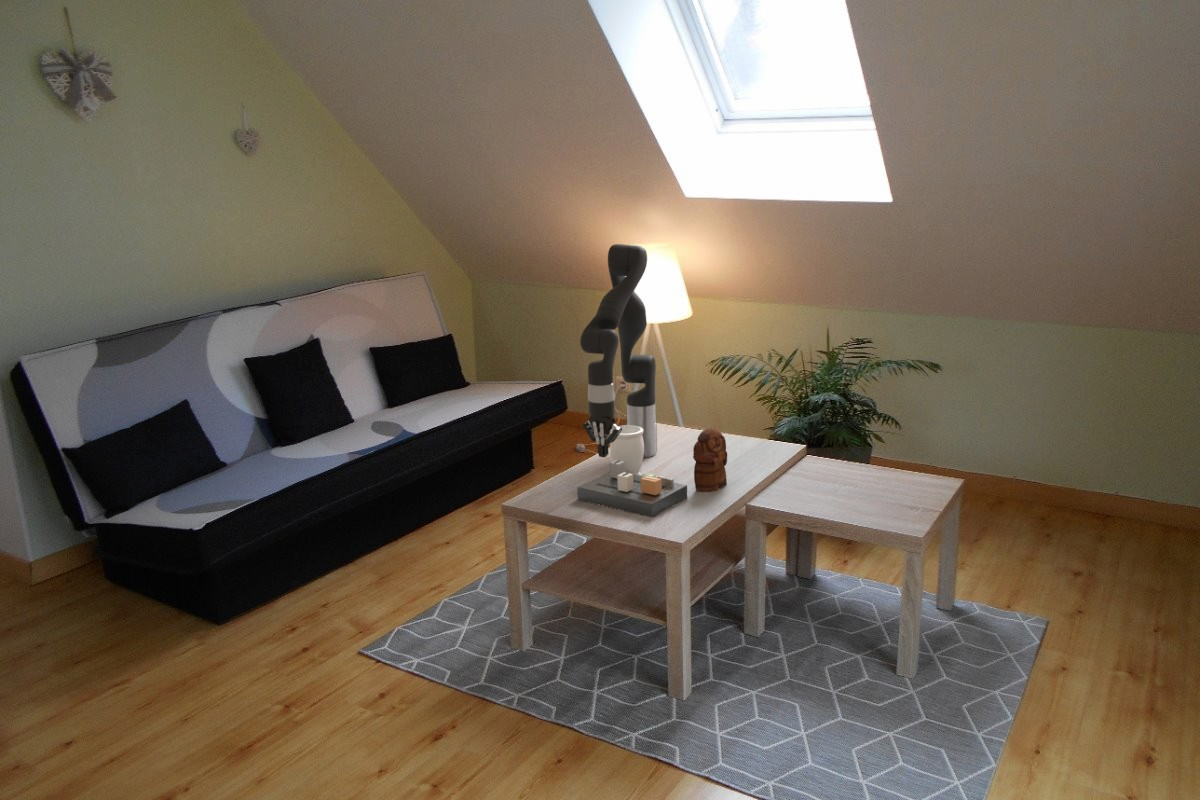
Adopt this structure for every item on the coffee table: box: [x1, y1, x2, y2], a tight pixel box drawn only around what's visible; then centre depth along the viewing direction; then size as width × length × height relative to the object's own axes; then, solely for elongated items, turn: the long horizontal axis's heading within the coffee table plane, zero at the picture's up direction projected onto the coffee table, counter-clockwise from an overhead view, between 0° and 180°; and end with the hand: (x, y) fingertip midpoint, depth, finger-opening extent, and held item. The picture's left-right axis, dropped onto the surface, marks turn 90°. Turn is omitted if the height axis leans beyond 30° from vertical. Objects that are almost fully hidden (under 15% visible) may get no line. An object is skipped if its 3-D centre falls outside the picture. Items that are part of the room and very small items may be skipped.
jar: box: [609, 424, 644, 476], centre depth 308 cm, size 11×10×15 cm
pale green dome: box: [641, 472, 657, 478], centre depth 291 cm, size 4×4×2 cm
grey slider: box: [609, 460, 625, 479], centre depth 296 cm, size 3×3×5 cm
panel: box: [576, 471, 688, 518], centre depth 289 cm, size 18×26×6 cm
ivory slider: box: [617, 472, 633, 492], centre depth 285 cm, size 3×3×5 cm
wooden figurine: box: [692, 427, 728, 493], centre depth 296 cm, size 12×6×18 cm, turn 141°
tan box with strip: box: [641, 476, 662, 495], centre depth 282 cm, size 3×5×4 cm, turn 53°
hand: (603, 456), depth 288 cm, fingers closed
